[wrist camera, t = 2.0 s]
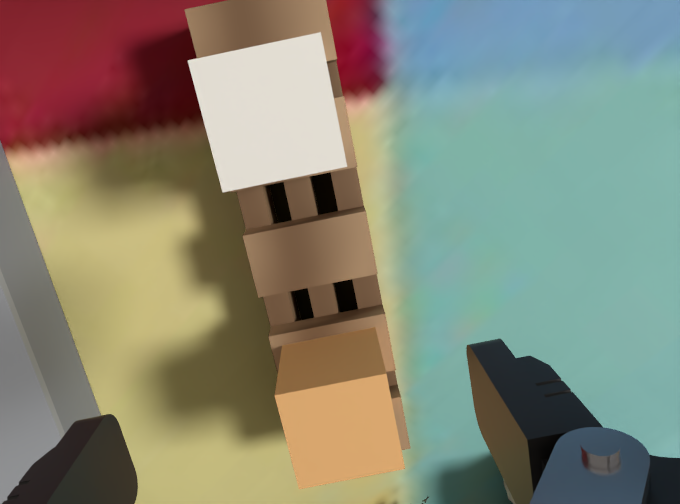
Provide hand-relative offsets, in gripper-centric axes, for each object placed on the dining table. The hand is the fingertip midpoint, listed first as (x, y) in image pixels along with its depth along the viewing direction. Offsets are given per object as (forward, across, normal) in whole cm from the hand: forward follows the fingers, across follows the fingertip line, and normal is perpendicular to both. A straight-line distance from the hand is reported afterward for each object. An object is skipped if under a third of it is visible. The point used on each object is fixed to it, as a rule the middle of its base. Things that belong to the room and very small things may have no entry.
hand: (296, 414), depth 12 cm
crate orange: (+13, 0, +6) cm, 14 cm away
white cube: (+13, 0, -6) cm, 14 cm away
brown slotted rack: (+17, 0, 0) cm, 17 cm away
